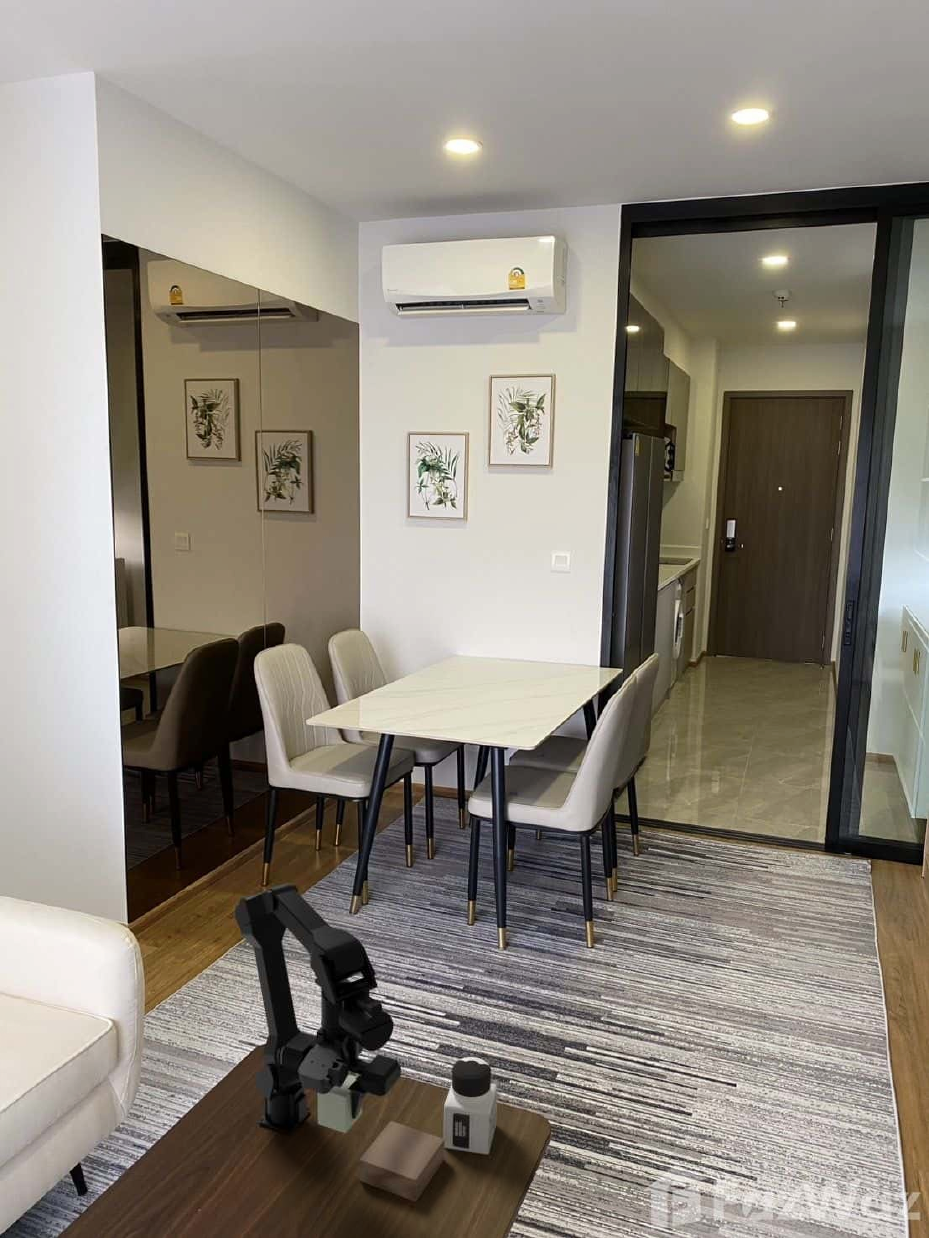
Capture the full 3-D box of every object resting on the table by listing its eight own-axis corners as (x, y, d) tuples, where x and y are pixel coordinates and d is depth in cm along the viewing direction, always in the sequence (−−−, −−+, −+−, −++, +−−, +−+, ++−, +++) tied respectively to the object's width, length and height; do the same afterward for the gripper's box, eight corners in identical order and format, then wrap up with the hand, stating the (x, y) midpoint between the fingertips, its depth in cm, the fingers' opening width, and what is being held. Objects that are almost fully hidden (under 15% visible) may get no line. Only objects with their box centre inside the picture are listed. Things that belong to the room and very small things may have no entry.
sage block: (317, 1123, 143) (317, 1088, 143) (334, 1104, 148) (334, 1070, 147) (345, 1133, 141) (345, 1097, 141) (362, 1113, 146) (362, 1078, 145)
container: (488, 1155, 151) (490, 1082, 150) (442, 1148, 153) (443, 1076, 151) (496, 1124, 159) (498, 1054, 157) (452, 1117, 160) (453, 1048, 159)
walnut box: (359, 1182, 146) (359, 1159, 145) (390, 1142, 155) (390, 1120, 154) (415, 1203, 141) (415, 1180, 141) (444, 1161, 150) (444, 1139, 150)
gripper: (258, 1031, 139) (259, 1126, 141) (366, 1064, 131) (366, 1164, 134) (300, 995, 149) (301, 1085, 151) (402, 1024, 142) (402, 1117, 144)
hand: (340, 1112), depth 145 cm, fingers closed on sage block, 5 cm apart
